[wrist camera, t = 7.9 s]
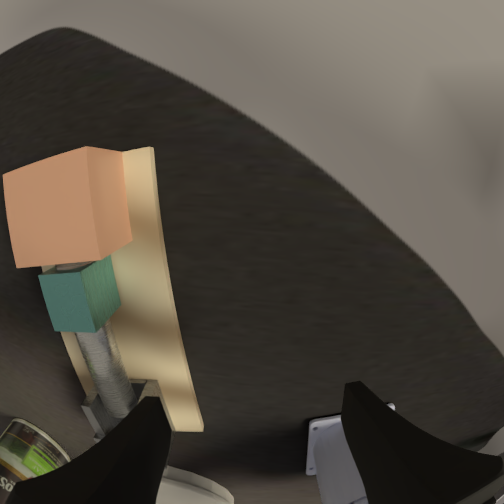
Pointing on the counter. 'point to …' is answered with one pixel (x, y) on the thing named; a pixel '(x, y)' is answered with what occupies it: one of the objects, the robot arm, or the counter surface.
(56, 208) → the socket
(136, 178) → the board
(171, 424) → the gray notched block
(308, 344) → the counter surface
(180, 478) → the lid
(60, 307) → the tube
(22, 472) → the coffee can
